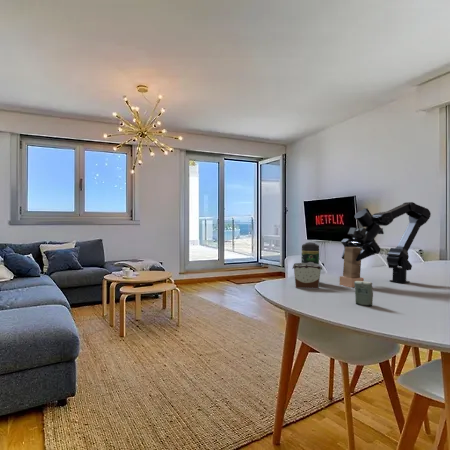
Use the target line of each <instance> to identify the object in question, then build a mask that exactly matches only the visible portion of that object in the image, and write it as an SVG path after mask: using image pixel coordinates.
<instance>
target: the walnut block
mask: <svg viewBox="0 0 450 450" xmlns="http://www.w3.org/2000/svg"><path fill="white" fill-rule="evenodd" d="M361 250H362V248H360V247H345V251H344V250H343V251H344V259H343V270H342V271H343V272H342V276H345V277H349V278H360V277H361V269H362V268H361V267H362V260H360V261H356V258H357V256H358V255H359V253H360V252H361Z"/></svg>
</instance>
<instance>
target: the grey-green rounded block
mask: <svg viewBox="0 0 450 450" xmlns="http://www.w3.org/2000/svg"><path fill="white" fill-rule="evenodd" d="M354 284H355V287H354V295H355V296H354V297H355V305H357V306H363V307H365V306H366V307H373V303H374V302H373V300H374V291H373V290H374V289H373V288H374V287H373V283H372V282H370V281H355V282H354Z"/></svg>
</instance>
